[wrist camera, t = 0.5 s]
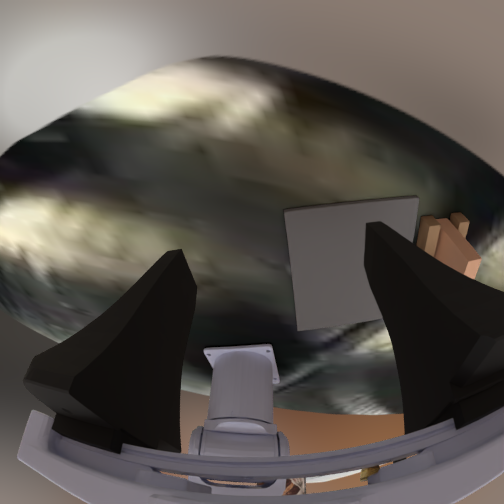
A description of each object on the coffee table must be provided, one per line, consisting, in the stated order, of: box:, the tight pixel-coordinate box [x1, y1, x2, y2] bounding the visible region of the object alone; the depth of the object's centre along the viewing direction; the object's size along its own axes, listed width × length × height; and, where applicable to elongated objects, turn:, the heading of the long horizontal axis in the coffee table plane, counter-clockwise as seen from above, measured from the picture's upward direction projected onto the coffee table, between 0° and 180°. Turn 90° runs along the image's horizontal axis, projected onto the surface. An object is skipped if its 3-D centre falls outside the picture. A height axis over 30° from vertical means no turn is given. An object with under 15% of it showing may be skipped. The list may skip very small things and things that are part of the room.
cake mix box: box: [257, 477, 306, 496], centre depth 86 cm, size 22×6×30 cm, turn 106°
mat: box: [284, 196, 419, 331], centre depth 24 cm, size 14×11×1 cm
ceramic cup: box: [360, 465, 380, 481], centre depth 84 cm, size 13×10×10 cm
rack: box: [416, 212, 469, 257], centre depth 22 cm, size 10×5×2 cm, turn 10°
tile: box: [434, 218, 482, 279], centre depth 21 cm, size 9×2×6 cm, turn 10°
